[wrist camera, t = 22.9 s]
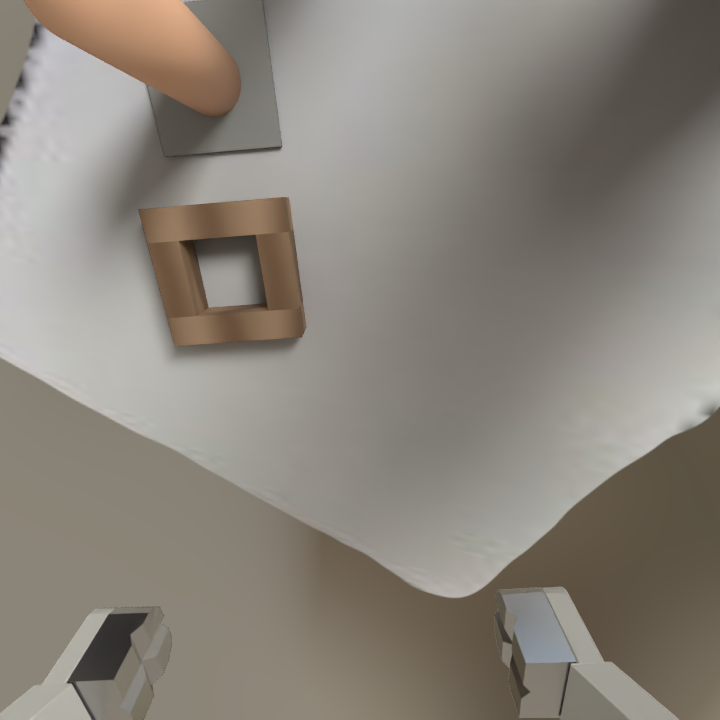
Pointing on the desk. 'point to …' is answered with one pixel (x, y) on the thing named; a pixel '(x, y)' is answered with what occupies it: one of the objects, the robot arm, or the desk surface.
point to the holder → (184, 282)
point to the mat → (257, 97)
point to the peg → (150, 46)
